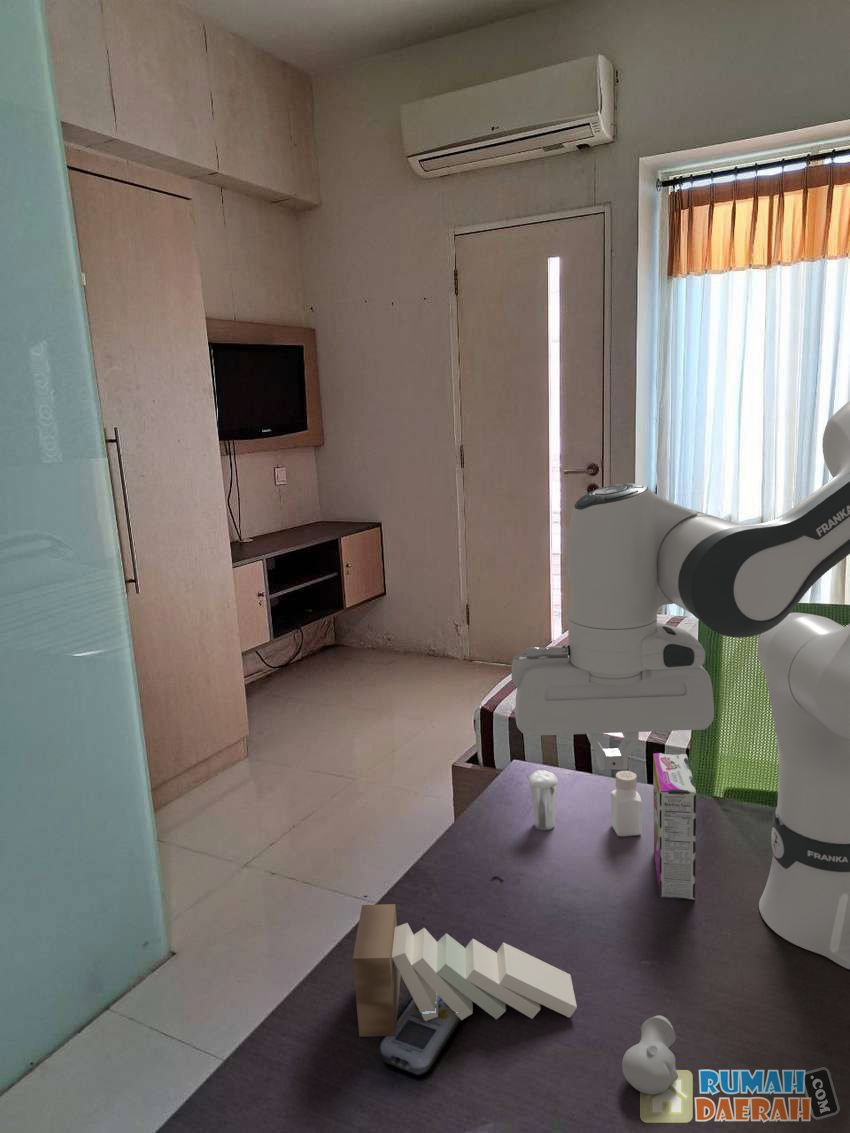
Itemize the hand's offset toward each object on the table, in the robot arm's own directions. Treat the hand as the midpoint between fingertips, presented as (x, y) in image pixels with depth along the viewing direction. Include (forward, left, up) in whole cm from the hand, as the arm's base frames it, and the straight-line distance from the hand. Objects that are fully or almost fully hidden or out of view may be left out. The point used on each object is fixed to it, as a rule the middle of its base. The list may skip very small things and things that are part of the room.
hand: (612, 767), depth 83 cm
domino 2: (+17, 0, -29) cm, 33 cm away
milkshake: (+4, -37, -29) cm, 47 cm away
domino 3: (+13, 0, -28) cm, 31 cm away
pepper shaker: (-9, -35, -29) cm, 47 cm away
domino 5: (+5, 0, -28) cm, 29 cm away
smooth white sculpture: (-2, +9, -30) cm, 31 cm away
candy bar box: (-13, -23, -29) cm, 40 cm away
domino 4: (+9, 0, -28) cm, 30 cm away
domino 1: (+21, 0, -29) cm, 36 cm away
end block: (+27, 0, -29) cm, 40 cm away
